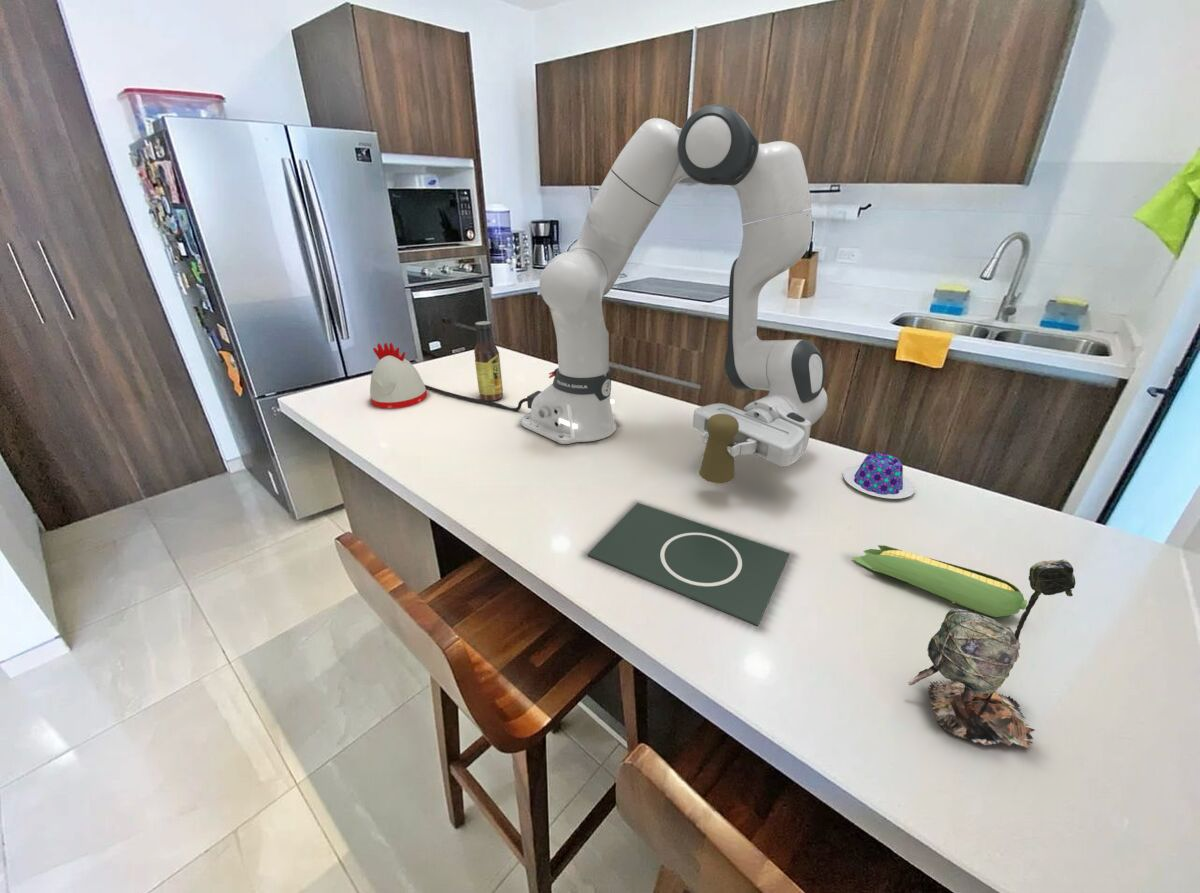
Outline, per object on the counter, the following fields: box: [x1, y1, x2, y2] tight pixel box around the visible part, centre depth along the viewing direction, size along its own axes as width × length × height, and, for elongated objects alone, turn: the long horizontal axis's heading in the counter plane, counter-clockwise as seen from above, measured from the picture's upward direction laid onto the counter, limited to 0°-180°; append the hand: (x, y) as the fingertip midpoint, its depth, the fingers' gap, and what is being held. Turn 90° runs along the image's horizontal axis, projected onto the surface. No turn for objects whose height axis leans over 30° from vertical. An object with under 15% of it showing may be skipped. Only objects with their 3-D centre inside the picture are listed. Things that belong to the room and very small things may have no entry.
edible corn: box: [851, 544, 1028, 618], centre depth 68 cm, size 5×20×5 cm, turn 54°
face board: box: [587, 502, 790, 627], centre depth 75 cm, size 26×16×1 cm, turn 58°
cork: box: [698, 414, 739, 484], centre depth 84 cm, size 6×6×11 cm
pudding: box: [842, 452, 916, 500], centre depth 91 cm, size 12×12×5 cm
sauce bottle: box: [473, 320, 504, 402], centre depth 128 cm, size 7×6×20 cm
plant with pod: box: [907, 559, 1077, 749], centre depth 48 cm, size 8×11×20 cm
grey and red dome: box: [369, 342, 428, 409], centre depth 129 cm, size 14×14×15 cm
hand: (717, 445), depth 84 cm, fingers closed on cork, 4 cm apart
